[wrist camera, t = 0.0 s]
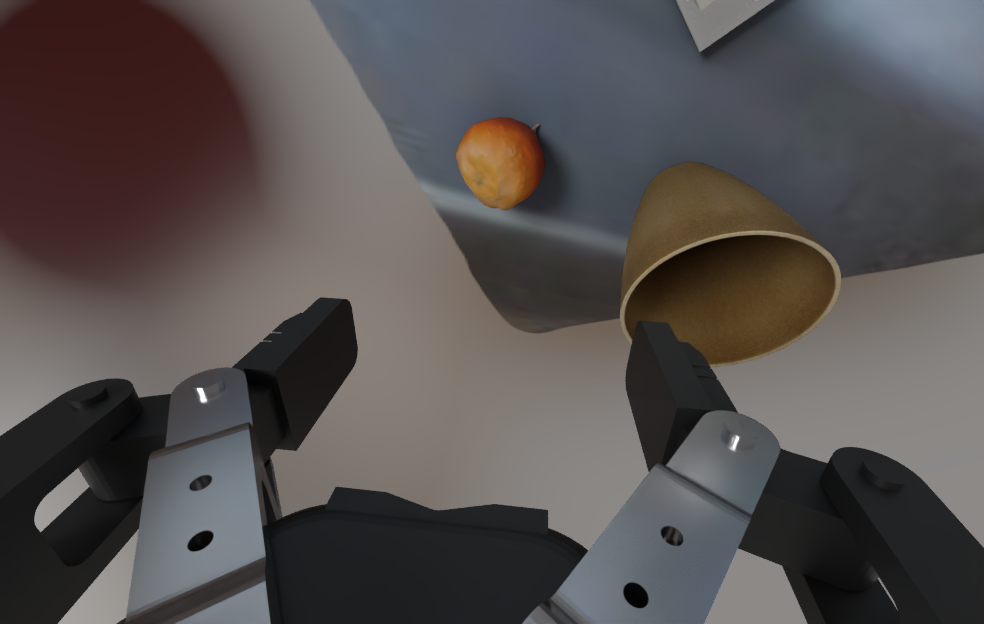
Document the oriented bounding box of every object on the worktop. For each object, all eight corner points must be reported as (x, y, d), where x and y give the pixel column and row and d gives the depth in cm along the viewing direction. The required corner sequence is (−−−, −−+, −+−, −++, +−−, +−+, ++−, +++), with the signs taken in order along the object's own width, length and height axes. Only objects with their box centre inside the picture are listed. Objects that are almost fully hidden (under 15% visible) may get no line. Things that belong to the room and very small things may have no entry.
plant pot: (741, 247, 46) (794, 369, 36) (602, 252, 49) (613, 367, 39) (793, 110, 36) (890, 228, 25) (611, 127, 38) (629, 239, 28)
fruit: (566, 186, 42) (519, 231, 38) (502, 169, 45) (454, 208, 42) (566, 102, 36) (511, 145, 32) (492, 90, 39) (435, 127, 36)
